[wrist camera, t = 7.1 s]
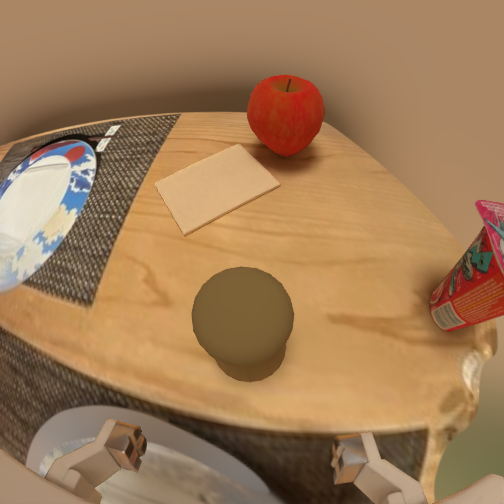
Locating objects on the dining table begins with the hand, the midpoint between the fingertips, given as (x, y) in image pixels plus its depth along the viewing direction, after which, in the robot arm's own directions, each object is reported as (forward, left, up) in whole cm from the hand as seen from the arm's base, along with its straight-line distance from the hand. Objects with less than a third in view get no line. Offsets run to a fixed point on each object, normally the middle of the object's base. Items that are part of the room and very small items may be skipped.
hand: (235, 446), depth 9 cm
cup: (+21, +4, -11) cm, 25 cm away
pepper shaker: (+1, +6, -11) cm, 13 cm away
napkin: (+1, +25, -11) cm, 27 cm away
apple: (+10, +28, -11) cm, 32 cm away
